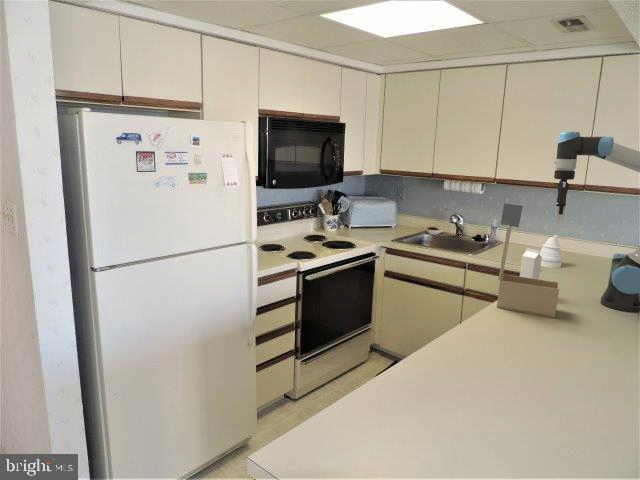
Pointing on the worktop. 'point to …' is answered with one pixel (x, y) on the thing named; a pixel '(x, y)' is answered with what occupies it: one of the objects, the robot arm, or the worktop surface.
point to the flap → (509, 226)
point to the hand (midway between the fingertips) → (558, 220)
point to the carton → (528, 295)
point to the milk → (531, 264)
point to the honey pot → (551, 253)
